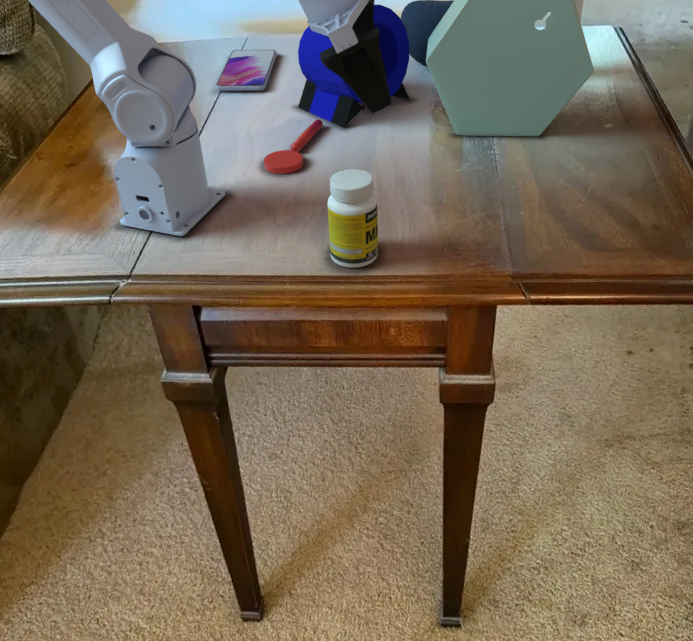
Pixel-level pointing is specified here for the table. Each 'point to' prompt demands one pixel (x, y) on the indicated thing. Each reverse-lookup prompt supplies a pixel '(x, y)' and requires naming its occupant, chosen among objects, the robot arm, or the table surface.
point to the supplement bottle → (353, 218)
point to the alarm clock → (332, 91)
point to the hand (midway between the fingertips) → (379, 93)
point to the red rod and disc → (291, 153)
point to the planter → (507, 64)
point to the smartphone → (246, 70)
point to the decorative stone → (422, 24)
